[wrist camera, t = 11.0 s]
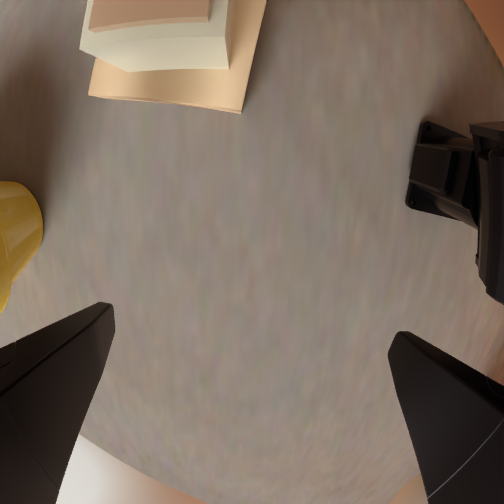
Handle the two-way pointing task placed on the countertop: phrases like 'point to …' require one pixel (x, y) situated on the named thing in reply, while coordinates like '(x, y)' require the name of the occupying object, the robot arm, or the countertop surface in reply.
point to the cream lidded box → (159, 33)
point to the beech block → (191, 72)
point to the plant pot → (17, 233)
